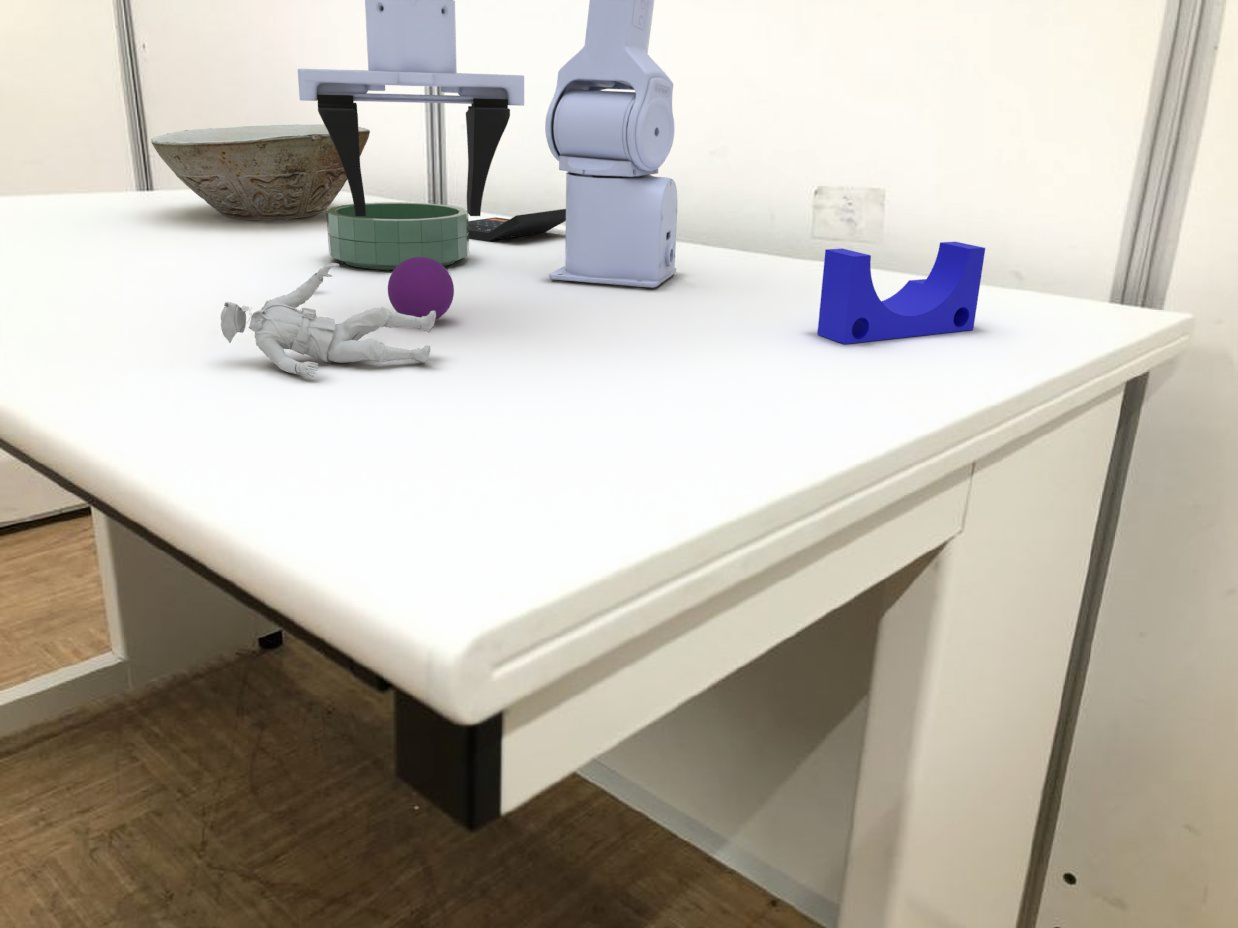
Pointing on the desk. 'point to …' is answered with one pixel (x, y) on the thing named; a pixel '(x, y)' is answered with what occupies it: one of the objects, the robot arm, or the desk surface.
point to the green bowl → (397, 234)
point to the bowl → (259, 168)
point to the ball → (420, 287)
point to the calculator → (515, 225)
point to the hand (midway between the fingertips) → (417, 214)
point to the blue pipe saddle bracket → (899, 297)
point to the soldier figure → (320, 330)
